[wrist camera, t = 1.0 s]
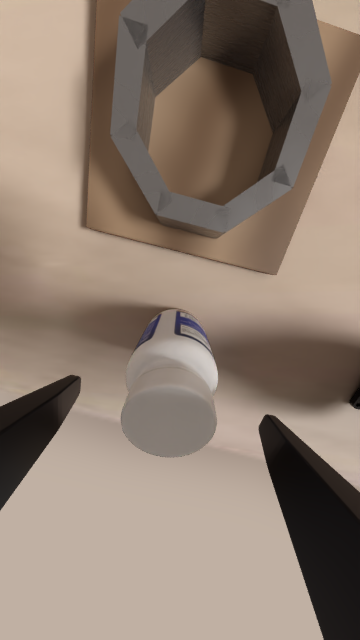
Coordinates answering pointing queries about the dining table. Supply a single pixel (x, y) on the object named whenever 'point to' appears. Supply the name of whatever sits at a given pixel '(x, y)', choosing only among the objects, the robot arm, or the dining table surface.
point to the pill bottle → (171, 387)
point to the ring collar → (232, 50)
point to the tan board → (207, 150)
